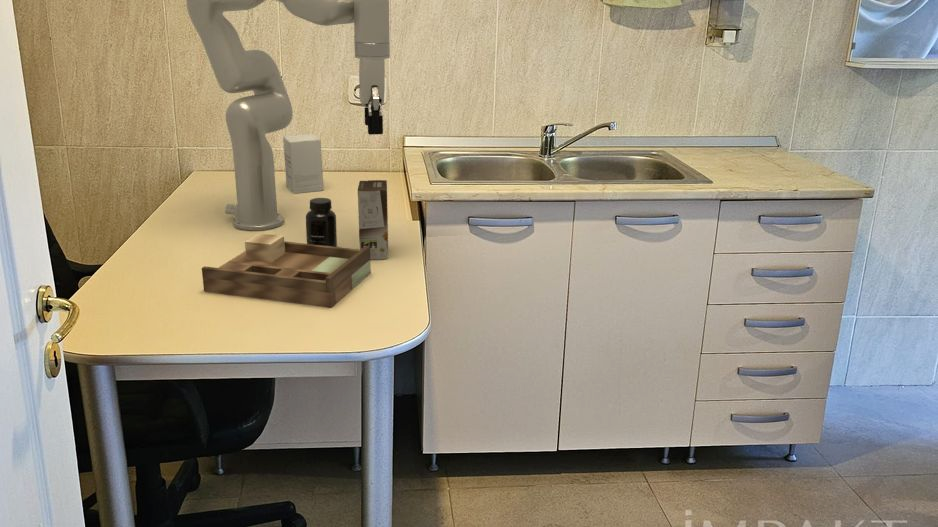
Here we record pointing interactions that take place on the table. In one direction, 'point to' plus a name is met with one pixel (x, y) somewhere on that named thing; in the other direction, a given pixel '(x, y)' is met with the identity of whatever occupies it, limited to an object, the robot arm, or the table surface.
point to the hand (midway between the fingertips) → (373, 129)
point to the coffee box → (373, 217)
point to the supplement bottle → (321, 223)
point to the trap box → (293, 275)
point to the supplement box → (303, 163)
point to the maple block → (265, 247)
